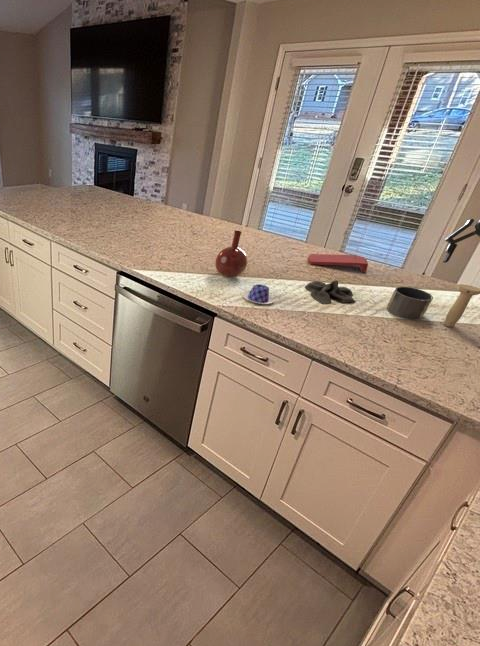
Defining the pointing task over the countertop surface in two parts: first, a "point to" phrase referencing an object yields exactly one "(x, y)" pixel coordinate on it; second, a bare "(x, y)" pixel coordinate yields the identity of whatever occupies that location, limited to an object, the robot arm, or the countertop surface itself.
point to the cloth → (329, 292)
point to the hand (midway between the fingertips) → (466, 268)
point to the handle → (460, 304)
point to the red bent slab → (338, 260)
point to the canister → (409, 303)
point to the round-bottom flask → (231, 259)
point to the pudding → (259, 294)
